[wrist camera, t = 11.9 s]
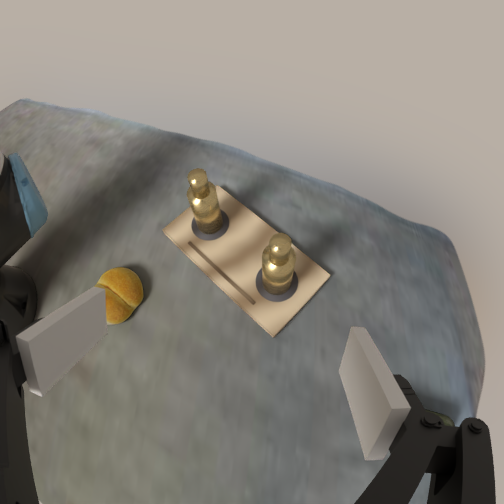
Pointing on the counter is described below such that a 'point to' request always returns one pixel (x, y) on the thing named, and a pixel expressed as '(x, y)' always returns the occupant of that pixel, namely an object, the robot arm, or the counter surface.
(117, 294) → the bread roll
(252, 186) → the counter surface
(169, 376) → the counter surface
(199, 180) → the gold bottle
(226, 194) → the board
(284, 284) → the brass bottle
